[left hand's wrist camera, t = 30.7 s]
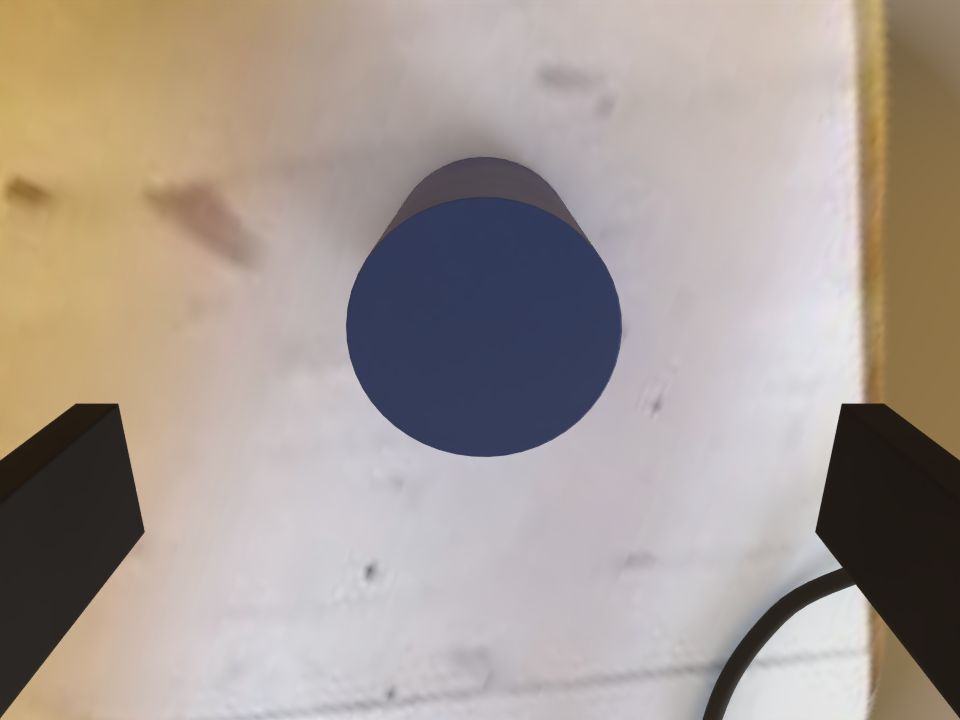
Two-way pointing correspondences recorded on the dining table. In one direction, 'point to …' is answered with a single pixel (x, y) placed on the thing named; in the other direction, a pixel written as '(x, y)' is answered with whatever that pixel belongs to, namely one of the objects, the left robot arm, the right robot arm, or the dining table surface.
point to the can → (483, 313)
